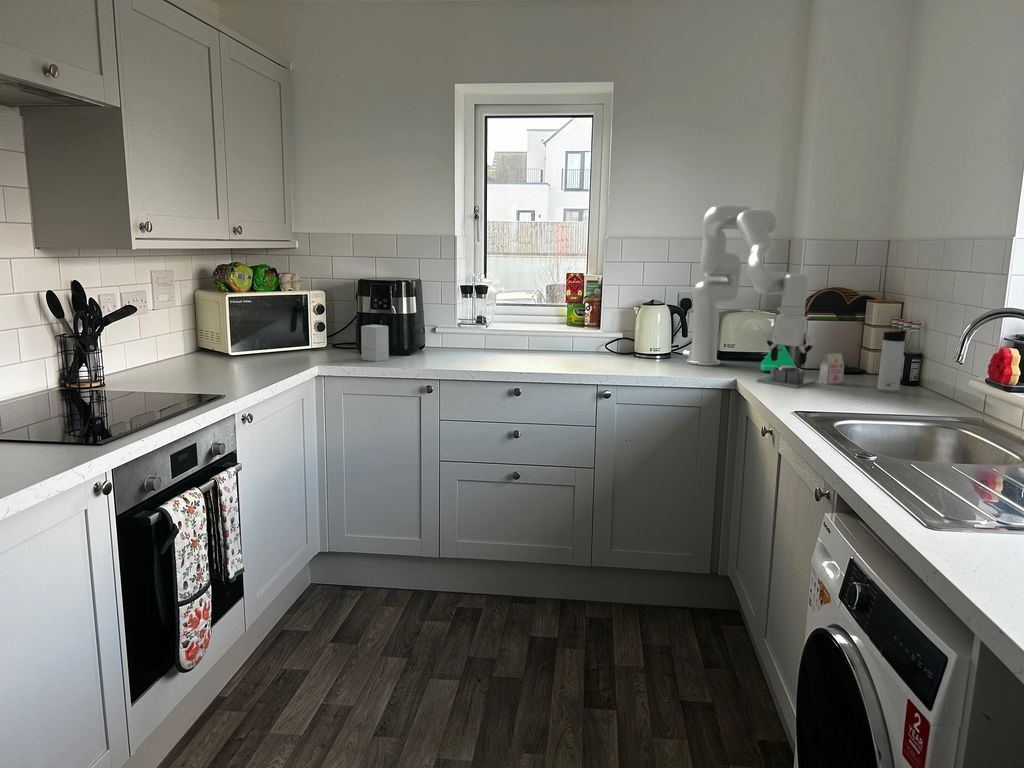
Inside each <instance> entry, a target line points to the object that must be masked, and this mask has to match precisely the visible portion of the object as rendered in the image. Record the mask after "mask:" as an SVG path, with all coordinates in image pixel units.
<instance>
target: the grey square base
mask: <svg viewBox="0 0 1024 768" xmlns="http://www.w3.org/2000/svg"><path fill="white" fill-rule="evenodd" d="M769 373H770V374H769V376H765V377H760V378H756V382H757V383H760V382H762V384H767V383H768V384H767V385H773V384H774V386H779V385H780V386H781V387H787V388H792V387H793V389H800V388H802V387H803V386H804V387H806V386H810V385H814V384H816V382H817V381H816V380H815V379H808V378H805V377H804V376H805V370H804V369H801V368H798V367H797V371H781V370H778V367H773V368H771V370H770V371H769Z"/></svg>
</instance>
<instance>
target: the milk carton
mask: <svg viewBox="0 0 1024 768" xmlns="http://www.w3.org/2000/svg"><path fill="white" fill-rule="evenodd" d="M819 367H820V368H819V377H818V383H819V384H822V383H823V384H824V385H826V384H827V385H841V383H842V384H844V382H843V381H844V373H845V371H844V370H845V364H844V360H843V353H826V354H824V357H823V359H822V361H821V363H820V365H819Z"/></svg>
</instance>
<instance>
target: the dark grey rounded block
mask: <svg viewBox="0 0 1024 768" xmlns="http://www.w3.org/2000/svg"><path fill="white" fill-rule="evenodd" d="M797 368H798V367H797V366H796V367H793V366H786V365H783V366H778V370H781V371H797Z"/></svg>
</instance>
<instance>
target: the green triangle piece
mask: <svg viewBox="0 0 1024 768" xmlns="http://www.w3.org/2000/svg"><path fill="white" fill-rule="evenodd" d="M779 348H780V349H782V350H781V351H778V358H777V360H776V361H771V350H770V351H769V352H768V353H767V355H766V356H765V357H764V358H763V360H762V361H761V363H760V369H761V371H766V372H770V370H771V368H773V367H778V366H783V365H786V366H793V367H797V365H796V364H795V362H794V361H793V358H792V356H791V354H790V353H789V351H788V349H787V346H785V345H779V346H778V347H777V349H778V350H779Z"/></svg>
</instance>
